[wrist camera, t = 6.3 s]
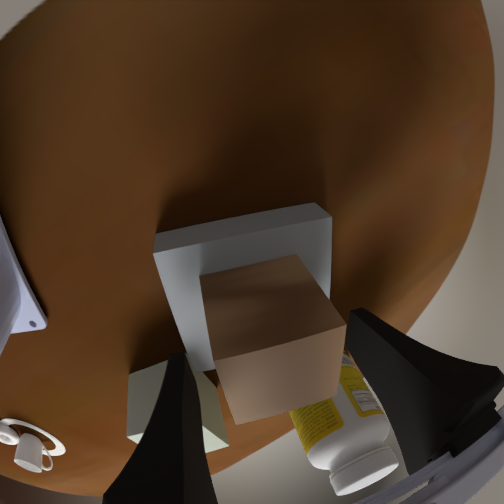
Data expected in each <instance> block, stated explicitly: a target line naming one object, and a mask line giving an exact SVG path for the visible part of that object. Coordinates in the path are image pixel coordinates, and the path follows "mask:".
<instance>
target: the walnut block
mask: <svg viewBox="0 0 504 504" xmlns="http://www.w3.org/2000/svg"><path fill="white" fill-rule="evenodd" d="M199 280H200V286H201V293H202V299H203V306H204V312H205V318H206V324H207V330H208V335H209V341H210V347H211V352H212V357H213V362H214V365H215V368H216V371H217V374H218V377H219V380H220V382H221V385H222V388H223V391H224V394H225V396H226V399H227V402H228V405H229V407H230V410H231V413H232V415H233V418H234V421H235V423H236V425H238V424H242V423H247V422H251V421H255V420H259V419H263V418H267V417H270V416H274V415H278V414H281V413H285V412H288V411H292V410H295V409H298V408H301V407H305V406H308V405H311V404H314V403H317V402H320V401H323V400H326V399H328V398H331V397H334V396H336V395H337V389H338V383H339V377H340V371H341V364H342V357H343V350H344V343H345V335H346V327H347V324H346V323H345V321H344V320H343V318H342V317H341V316H340V314H339V313H338V311H337V310H336V308H335V307H334V306H333V304H332V303H331V301H330V300H329V299H328V297H327V296H326V294H325V293H324V292H323V290H322V289H321V287H320V286H319V285H318V283H317V282H316V280H315V279H314V278H313V276H312V275H311V273H310V272H309V271H308V269H307V268H306V267H305V265H304V264H303V262H302V261H301V260H300V258H299V257H298V256H297V254H294V255H289V256H285V257H281V258H276V259H272V260H268V261H263V262H259V263H254V264H250V265H246V266H241V267H237V268H232V269H228V270H223V271H219V272H214V273H210V274H205V275H201V276H199Z"/></svg>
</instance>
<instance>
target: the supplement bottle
mask: <svg viewBox="0 0 504 504" xmlns="http://www.w3.org/2000/svg"><path fill="white" fill-rule="evenodd" d="M289 413H290V416H291V418H292V421H293V423H294V425H295V428H296V430H297V432H298V435H299V438H300V440H301V442H302V445H303V447H304V450H305V452H306V455H307V457H308V459H309V461H310V462H311V464H312V465H313V466H314V467H316V468H319V469H325V470H326V469H329V470H330V471H331V474H330V476H329V477H330V479H331V480H330V482H331V484H332V486H333V488H334V490H335V492H336V494H337V495H345V494H348V493H351V492H354V491H357V490H359V489H362V488H364V487H366V486H368V485H370V484H372V483H374V482H376V481H377V480H380V479H381V478H383V477H384V476H386V475H388V474H389V473H390V472H392V471H393V470H394V469H395V468H396V467H397V466H398V465H399V462H398V460H397V458H396V457H395V455H394V453H393V451H392V450H391V449H390V447H389V446H385V445H384V443H383V442H384V440H385V439H386V437H387V435H388V433H389V428H390V425H389V422H388V420H387V418H386V416H385V414H384V413H383V411H382V409H381V408H380V406H379V405H378V403H377V401H376V400H375V398H374V397H373V395H372V393H371V392H370V390H369V389H368V387H367V385H366V383H365V382H364V380H363V379H362V377H361V375H360V374H359V372H358V371H357V369H356V367H355V366H354V364H353V363H352V361H351V359H350V358H349V356H348V355H347V353H346V352H345V351H344V350H343V357H342V364H341V371H340V377H339V383H338V389H337V395H336V396H334V397H331V398H328V399H326V400H323V401H320V402H317V403H314V404H311V405H308V406H305V407H301V408H298V409H295V410H292V411H289Z"/></svg>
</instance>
